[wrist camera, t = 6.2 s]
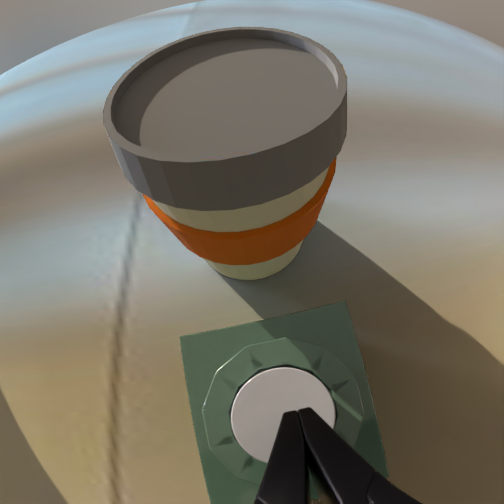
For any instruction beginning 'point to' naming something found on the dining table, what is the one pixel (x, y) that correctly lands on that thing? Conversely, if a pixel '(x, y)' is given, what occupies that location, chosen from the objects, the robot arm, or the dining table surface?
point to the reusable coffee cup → (233, 141)
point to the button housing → (264, 358)
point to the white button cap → (275, 406)
